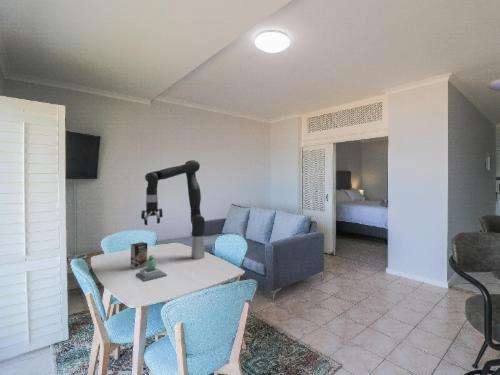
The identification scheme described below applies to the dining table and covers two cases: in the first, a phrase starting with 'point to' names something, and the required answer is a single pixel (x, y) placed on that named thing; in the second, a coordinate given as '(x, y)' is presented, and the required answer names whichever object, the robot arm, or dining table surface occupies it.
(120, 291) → the dining table surface
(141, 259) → the coffee box
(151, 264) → the green bottle
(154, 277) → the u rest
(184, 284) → the dining table surface
